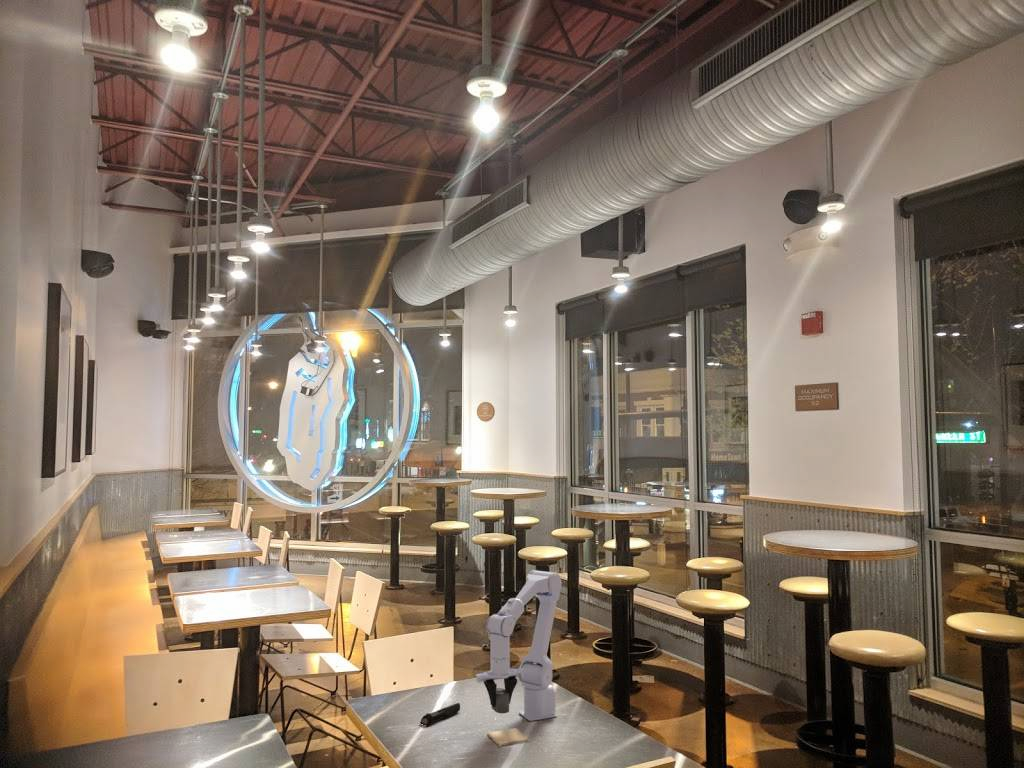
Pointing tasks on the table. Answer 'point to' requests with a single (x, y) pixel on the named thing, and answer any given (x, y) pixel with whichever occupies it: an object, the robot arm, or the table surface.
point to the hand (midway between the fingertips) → (500, 704)
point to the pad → (507, 736)
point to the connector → (501, 701)
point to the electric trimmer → (440, 714)
